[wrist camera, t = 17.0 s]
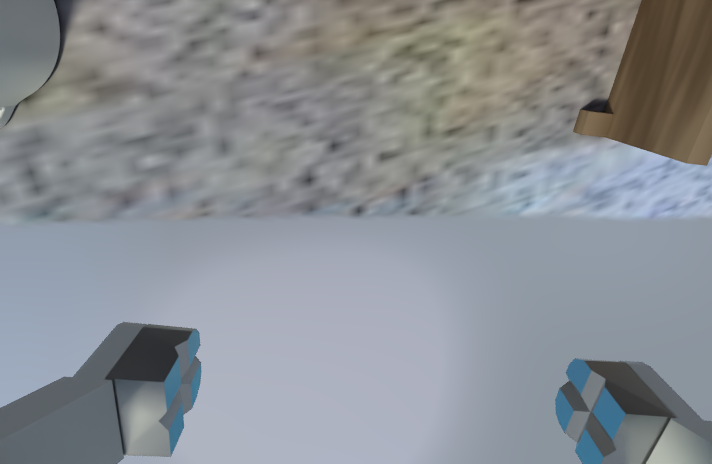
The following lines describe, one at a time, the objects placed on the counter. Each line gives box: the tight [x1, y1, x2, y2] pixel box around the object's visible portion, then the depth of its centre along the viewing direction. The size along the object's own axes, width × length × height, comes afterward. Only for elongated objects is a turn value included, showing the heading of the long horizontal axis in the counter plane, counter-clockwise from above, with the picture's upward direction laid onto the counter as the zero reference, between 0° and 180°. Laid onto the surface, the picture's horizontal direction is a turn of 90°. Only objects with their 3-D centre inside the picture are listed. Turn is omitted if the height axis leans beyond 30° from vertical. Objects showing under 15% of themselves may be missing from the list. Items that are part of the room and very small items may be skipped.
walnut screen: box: [573, 0, 712, 165], centre depth 31 cm, size 6×14×11 cm, turn 174°
